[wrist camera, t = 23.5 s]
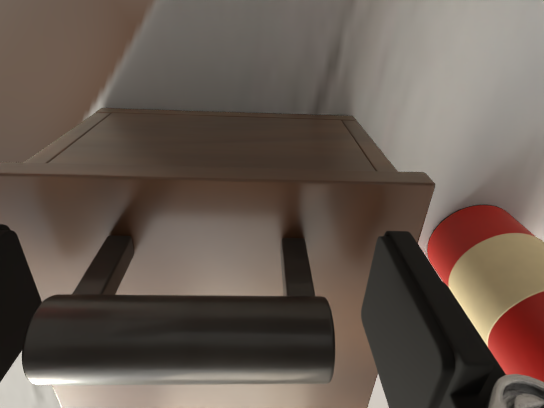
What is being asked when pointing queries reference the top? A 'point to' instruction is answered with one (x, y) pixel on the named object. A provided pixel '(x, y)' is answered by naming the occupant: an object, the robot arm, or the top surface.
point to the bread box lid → (203, 281)
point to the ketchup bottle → (496, 282)
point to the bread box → (217, 141)
